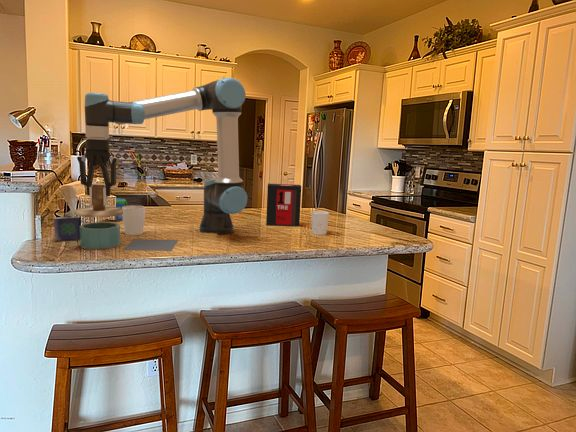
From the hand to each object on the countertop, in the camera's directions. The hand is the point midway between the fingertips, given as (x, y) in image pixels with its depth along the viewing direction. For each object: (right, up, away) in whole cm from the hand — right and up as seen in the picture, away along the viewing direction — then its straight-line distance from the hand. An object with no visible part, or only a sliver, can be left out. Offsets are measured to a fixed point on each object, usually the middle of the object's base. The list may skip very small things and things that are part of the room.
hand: (99, 204), depth 153 cm
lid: (0, -3, 0) cm, 3 cm away
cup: (+4, -12, +23) cm, 27 cm away
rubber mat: (+17, -16, +6) cm, 24 cm away
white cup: (+82, -12, +44) cm, 94 cm away
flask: (-17, -14, +11) cm, 24 cm away
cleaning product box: (+65, -8, +63) cm, 91 cm away
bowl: (-1, -15, +3) cm, 16 cm away
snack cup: (-16, -6, +53) cm, 56 cm away
